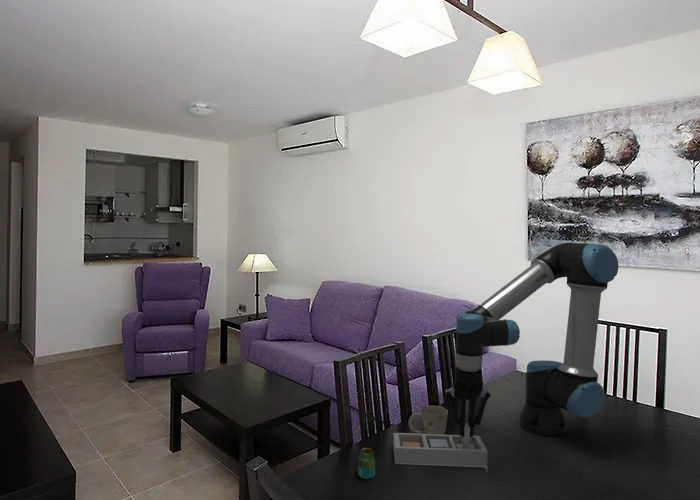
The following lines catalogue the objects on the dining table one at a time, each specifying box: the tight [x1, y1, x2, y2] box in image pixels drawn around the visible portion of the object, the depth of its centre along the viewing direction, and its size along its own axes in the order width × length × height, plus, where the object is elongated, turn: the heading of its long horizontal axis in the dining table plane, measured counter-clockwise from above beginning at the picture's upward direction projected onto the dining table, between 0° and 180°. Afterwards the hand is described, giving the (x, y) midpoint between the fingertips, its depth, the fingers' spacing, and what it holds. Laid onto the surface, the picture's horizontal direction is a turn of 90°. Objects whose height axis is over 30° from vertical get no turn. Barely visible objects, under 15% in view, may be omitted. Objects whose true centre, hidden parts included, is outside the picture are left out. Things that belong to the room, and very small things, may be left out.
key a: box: [456, 444, 475, 449], centre depth 137 cm, size 5×5×2 cm
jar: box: [357, 447, 376, 480], centre depth 127 cm, size 5×5×8 cm
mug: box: [407, 405, 449, 435], centre depth 151 cm, size 8×13×10 cm, turn 78°
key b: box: [429, 439, 449, 448], centre depth 138 cm, size 5×5×2 cm
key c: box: [402, 442, 420, 447], centre depth 138 cm, size 5×5×2 cm
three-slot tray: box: [392, 432, 489, 473], centre depth 138 cm, size 26×11×6 cm, turn 88°
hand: (465, 447), depth 137 cm, fingers closed
